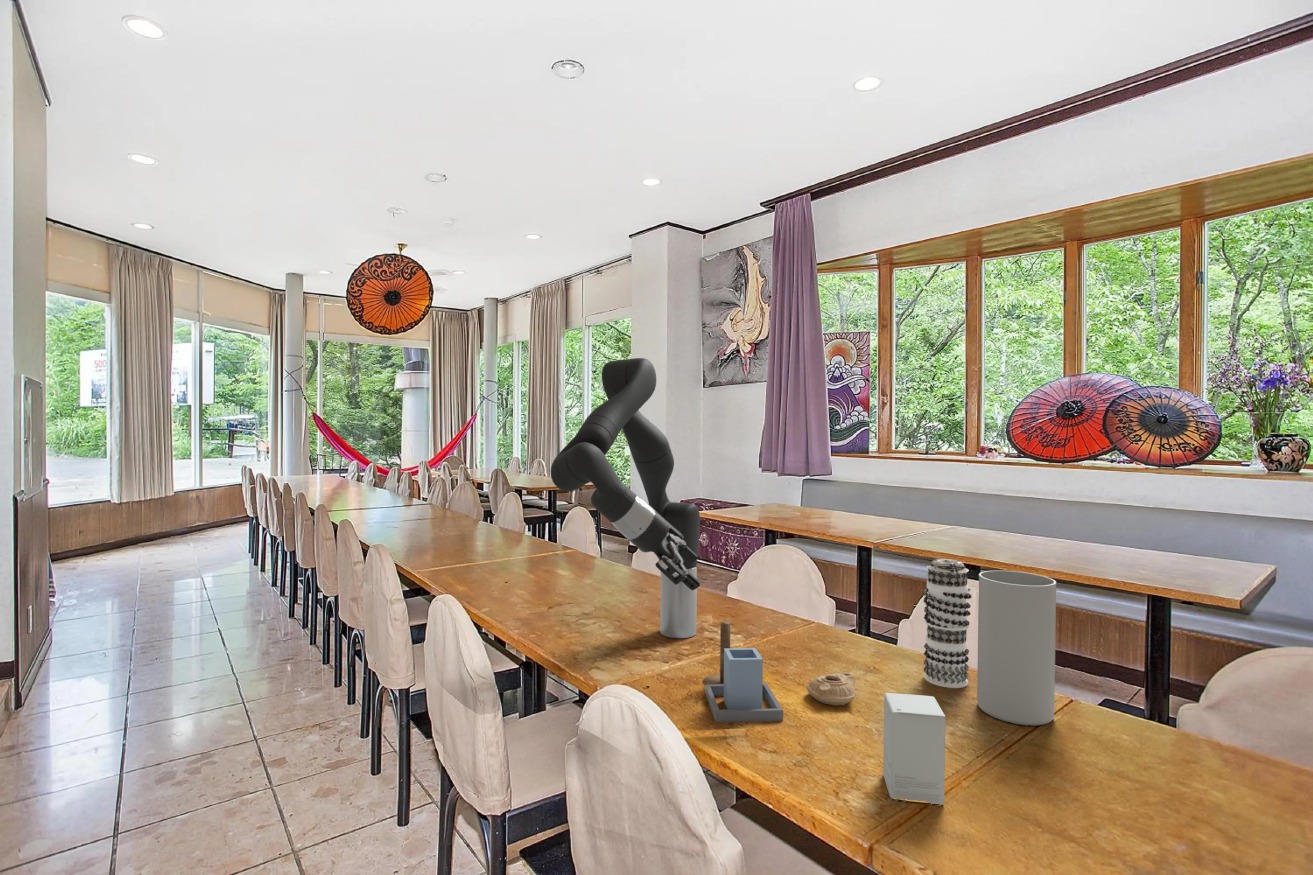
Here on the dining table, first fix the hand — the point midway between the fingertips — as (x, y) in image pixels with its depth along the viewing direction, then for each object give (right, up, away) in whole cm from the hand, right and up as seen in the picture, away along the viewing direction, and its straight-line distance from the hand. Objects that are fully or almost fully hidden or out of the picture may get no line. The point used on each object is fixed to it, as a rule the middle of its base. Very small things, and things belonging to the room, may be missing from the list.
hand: (695, 573), depth 129 cm
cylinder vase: (+59, -24, -8) cm, 64 cm away
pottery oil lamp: (+27, -24, -4) cm, 36 cm away
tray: (+8, -24, -9) cm, 27 cm away
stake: (+6, -23, +2) cm, 24 cm away
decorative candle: (+53, -24, +7) cm, 58 cm away
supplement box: (+29, -24, -35) cm, 52 cm away
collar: (+8, -23, -9) cm, 26 cm away
